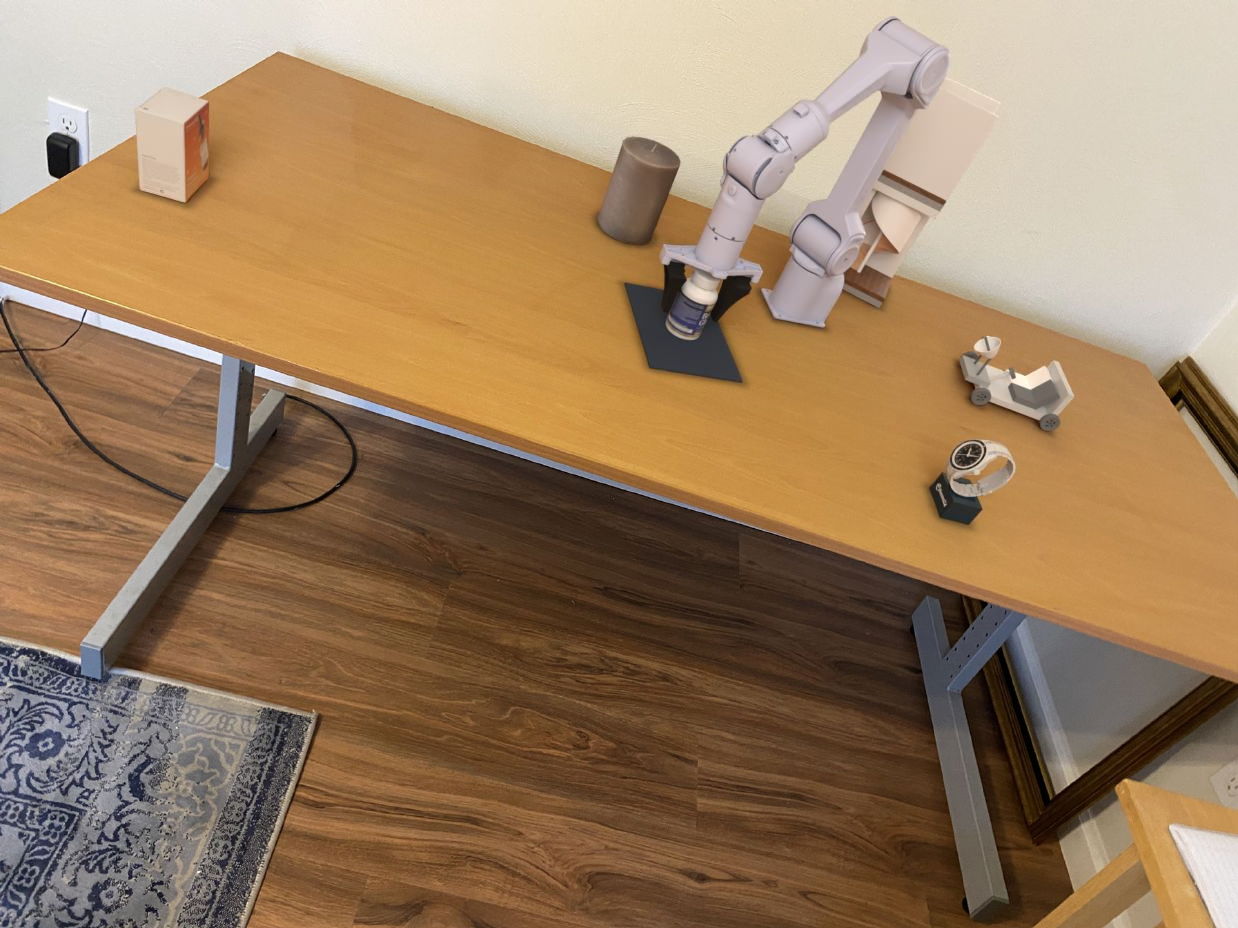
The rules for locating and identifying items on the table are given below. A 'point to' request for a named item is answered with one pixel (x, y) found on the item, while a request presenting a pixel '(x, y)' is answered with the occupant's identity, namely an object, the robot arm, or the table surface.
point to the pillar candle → (638, 190)
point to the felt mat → (679, 340)
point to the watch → (958, 493)
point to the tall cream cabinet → (918, 183)
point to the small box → (172, 144)
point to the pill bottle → (693, 305)
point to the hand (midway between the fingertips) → (689, 313)
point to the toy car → (1017, 385)
